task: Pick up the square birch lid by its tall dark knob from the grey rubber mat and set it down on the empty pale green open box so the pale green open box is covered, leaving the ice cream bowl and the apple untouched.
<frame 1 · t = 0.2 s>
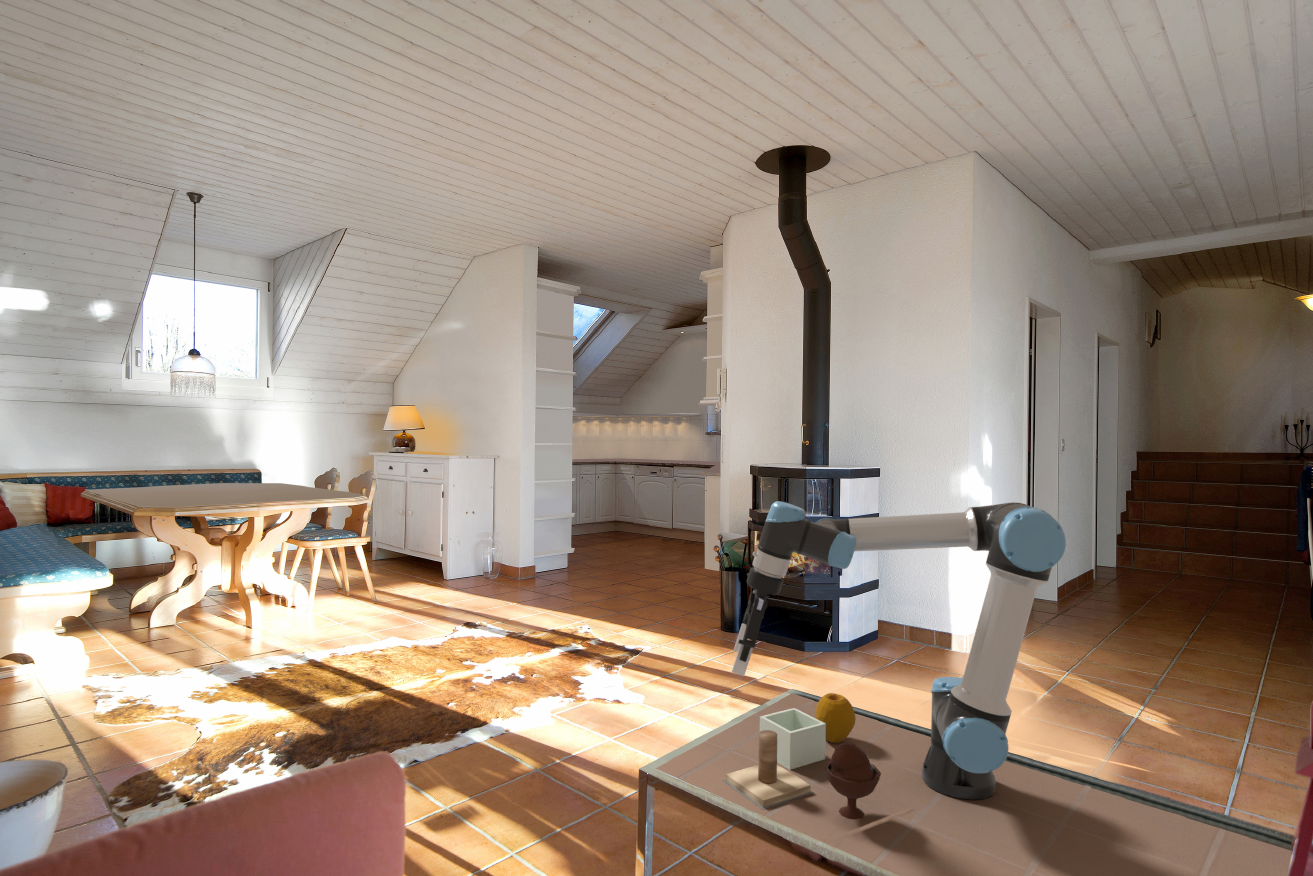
hand: (738, 662, 161), 27 cm above the table, tool tilted 15°, fingers open, 13 cm apart
mat: (767, 789, 160), on the table
lid: (767, 786, 160), point 1 cm above the table, touching mat
ice cream bowl: (851, 816, 149), on the table
apple: (834, 741, 185), on the table
pale green open box: (791, 757, 175), on the table
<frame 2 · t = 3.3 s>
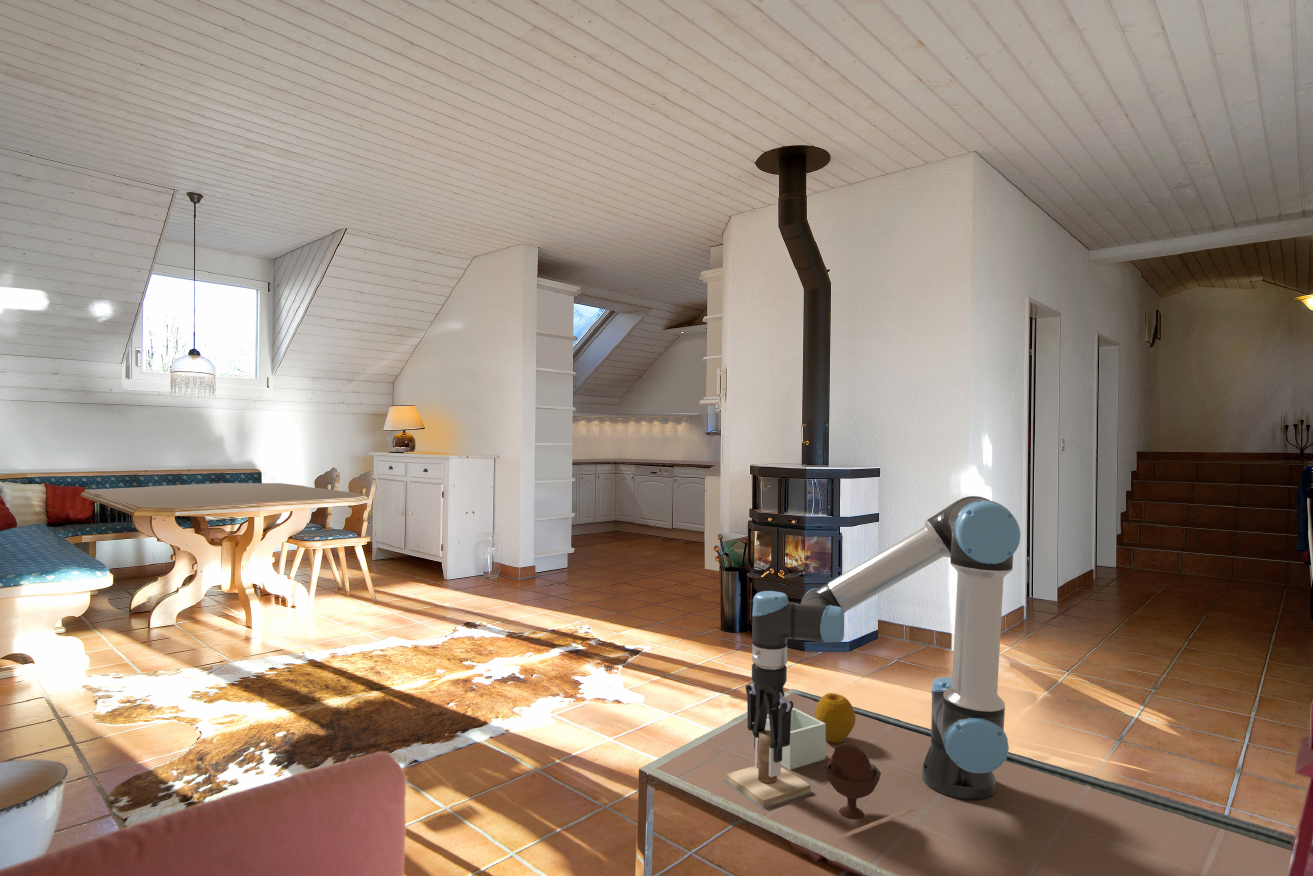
hand: (767, 770, 160), 4 cm above the table, tool pointing down, fingers closed on lid, 4 cm apart
lid: (767, 786, 160), point 1 cm above the table, touching gripper, mat
everything else where it was.
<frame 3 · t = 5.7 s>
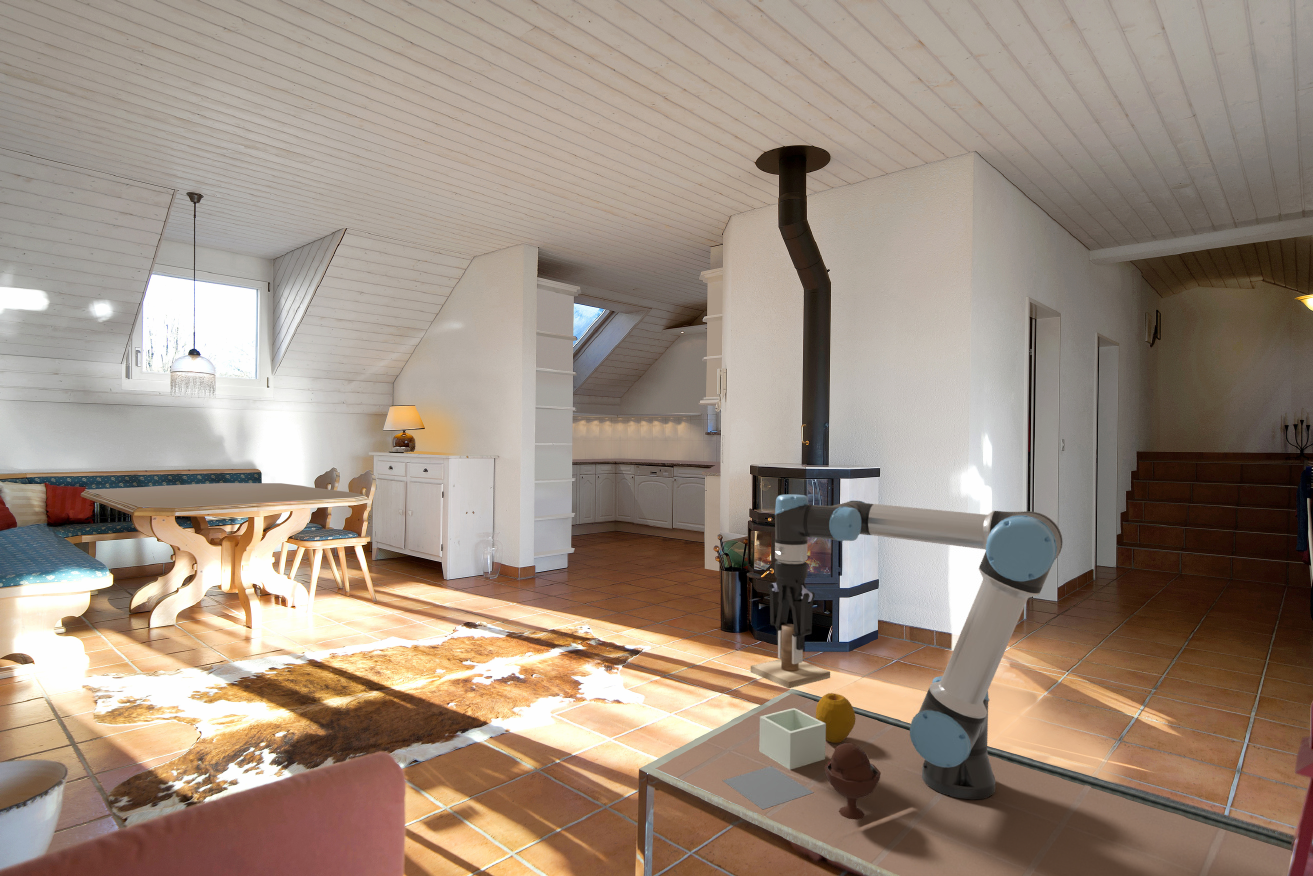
hand: (790, 659, 172), 24 cm above the table, tool pointing down, fingers closed on lid, 4 cm apart
lid: (789, 675, 172), point 21 cm above the table, touching gripper
everything else where it was.
when the fingers open (14 cm above the table, at t = 8.2 s): lid drops 1 cm, resting on pale green open box.
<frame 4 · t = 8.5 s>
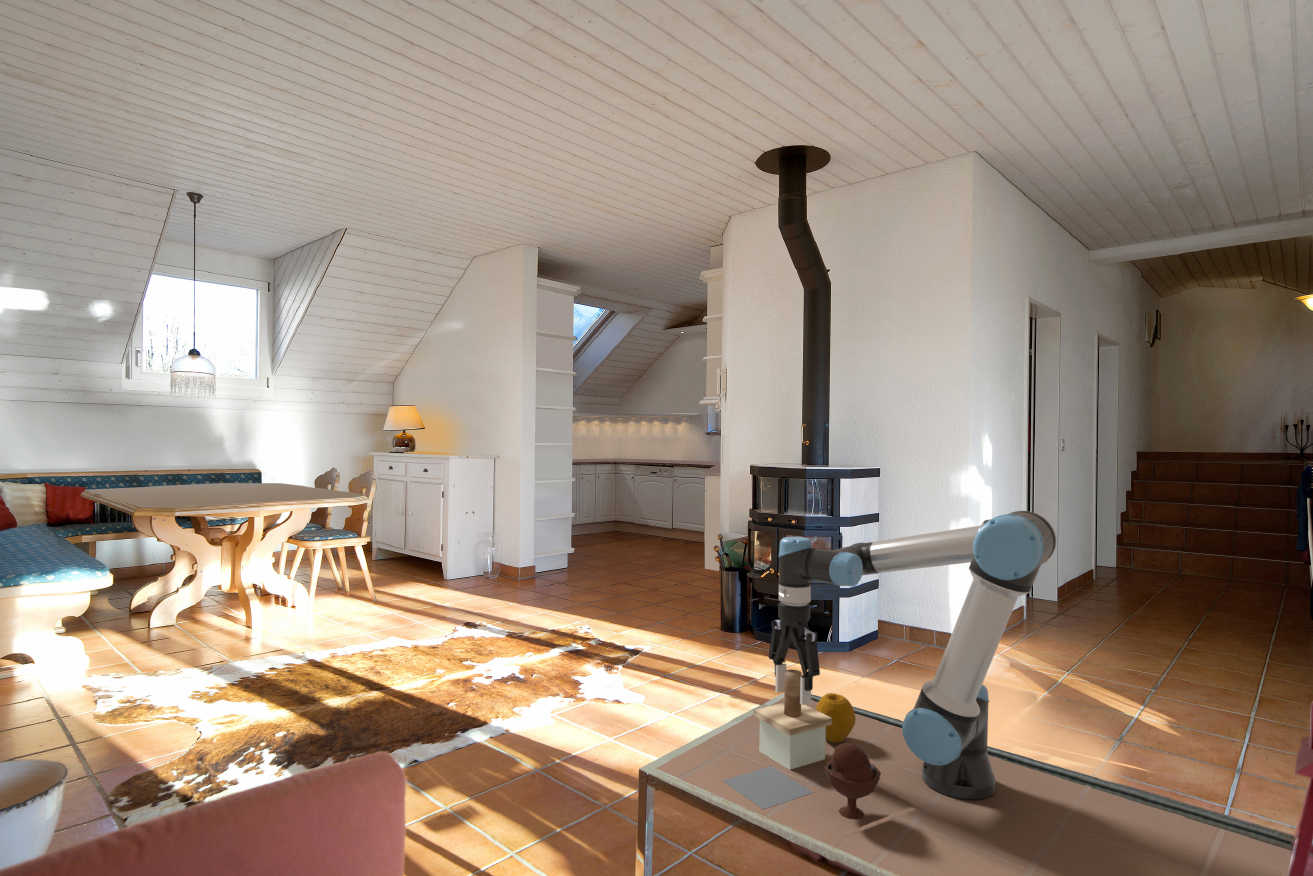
hand: (792, 697, 175), 15 cm above the table, tool pointing down, fingers open, 8 cm apart
lid: (792, 720, 175), point 9 cm above the table, touching pale green open box
everything else where it was.
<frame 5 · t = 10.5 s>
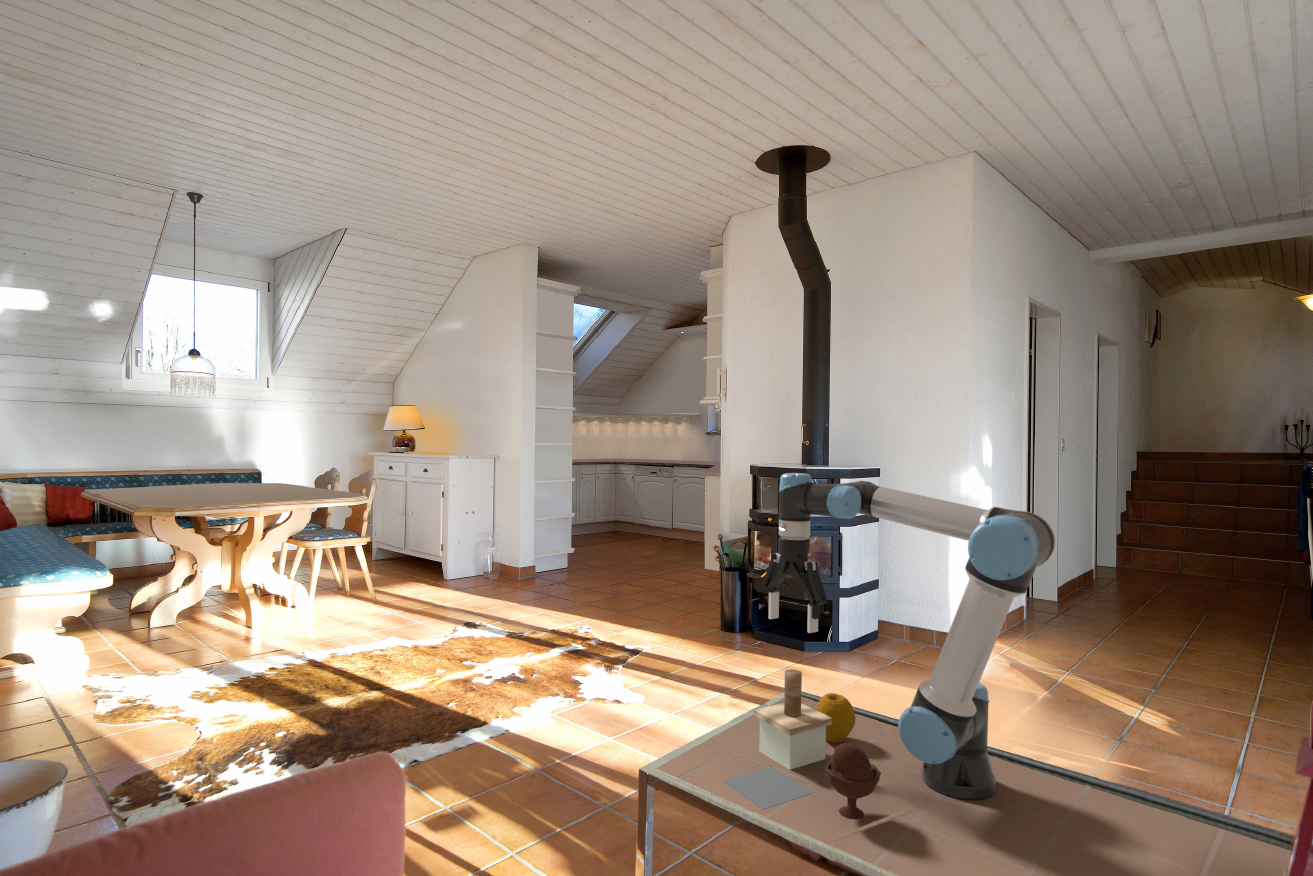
hand: (792, 625, 177), 31 cm above the table, tool pointing down, fingers open, 13 cm apart
nothing on the table moved.
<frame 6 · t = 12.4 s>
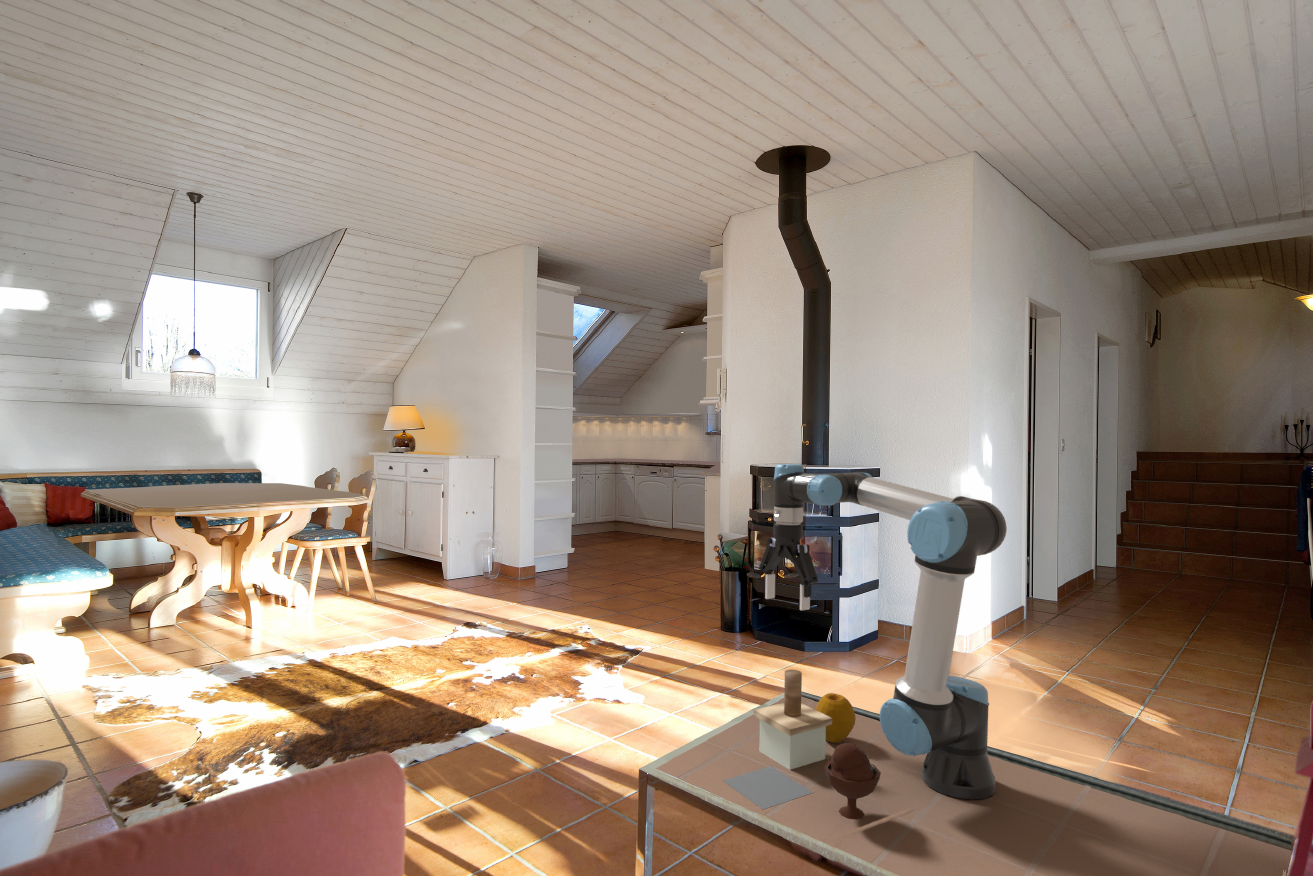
hand: (786, 603, 192), 33 cm above the table, tool pointing down, fingers open, 13 cm apart
nothing on the table moved.
at the end: lid inside the target area on the pale green open box (0.0 cm from its centre), point 9.0 cm above the pale green open box's base; lid tilted 0°; the gripper is holding nothing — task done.
